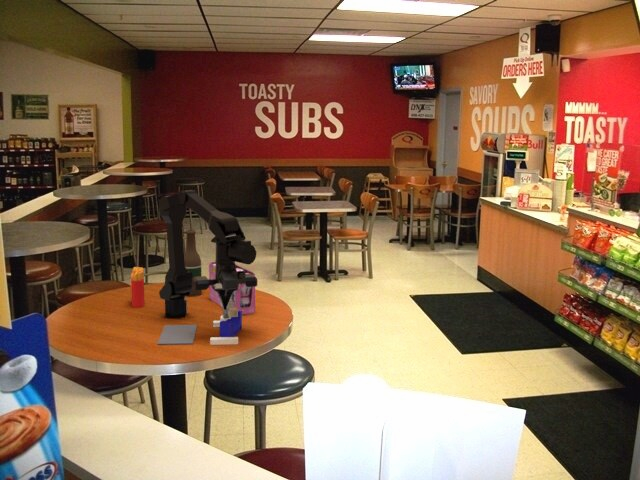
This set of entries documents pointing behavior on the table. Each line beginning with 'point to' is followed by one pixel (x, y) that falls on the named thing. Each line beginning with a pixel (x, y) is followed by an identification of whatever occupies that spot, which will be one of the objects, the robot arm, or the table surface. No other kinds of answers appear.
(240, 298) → the gum box
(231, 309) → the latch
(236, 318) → the cable clip
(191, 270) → the beer bottle
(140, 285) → the french fries
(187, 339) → the mat
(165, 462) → the table surface
